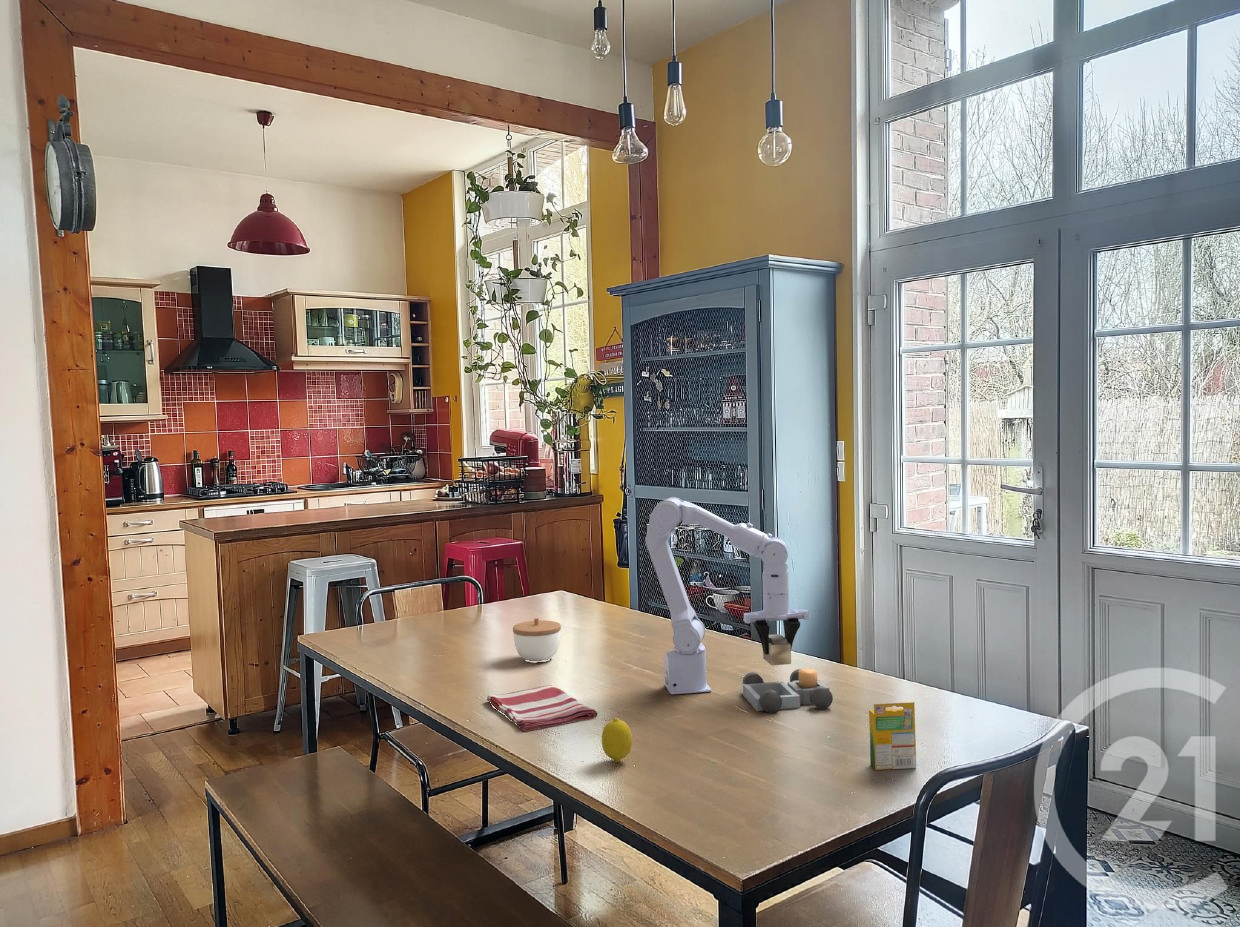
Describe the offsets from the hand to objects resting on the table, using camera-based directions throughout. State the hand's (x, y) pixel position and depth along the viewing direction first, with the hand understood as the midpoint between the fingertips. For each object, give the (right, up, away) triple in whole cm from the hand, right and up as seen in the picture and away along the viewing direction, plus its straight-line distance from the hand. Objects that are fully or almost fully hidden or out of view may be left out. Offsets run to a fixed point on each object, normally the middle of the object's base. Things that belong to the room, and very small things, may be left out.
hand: (777, 652), depth 195 cm
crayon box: (+12, -11, -44) cm, 47 cm away
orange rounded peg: (+6, -7, -5) cm, 10 cm away
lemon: (-36, -12, -38) cm, 53 cm away
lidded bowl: (-57, -10, +34) cm, 67 cm away
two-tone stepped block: (0, -2, 0) cm, 2 cm away
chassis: (0, -9, -6) cm, 11 cm away
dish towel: (-53, -12, -7) cm, 54 cm away
